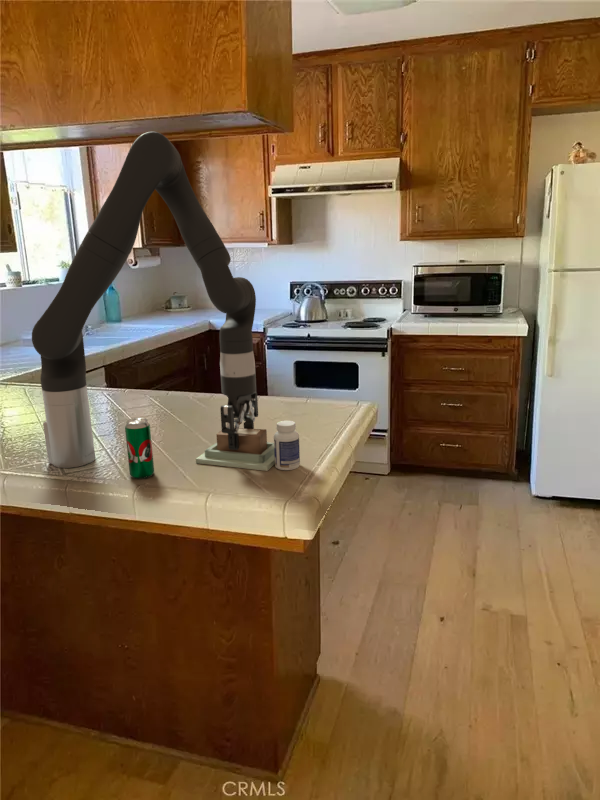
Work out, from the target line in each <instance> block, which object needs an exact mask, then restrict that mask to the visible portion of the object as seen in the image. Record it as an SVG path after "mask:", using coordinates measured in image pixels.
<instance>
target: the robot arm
mask: <svg viewBox="0 0 600 800" xmlns="http://www.w3.org/2000/svg"><path fill="white" fill-rule="evenodd" d="M186 172H187V171H186V170H185V166H184V164H183V161H182V157H181V154H180V153H179V151H178V149H177V148H176V146H174V144H173V143H172V142H171V141H170V140H169V138H168V137H166V136H165V135H164V134H162V133H160V132H158V131H148V132H147V131H146V132H145V133H142V134H141V135H139V136H138V137H137V138H136V139H135V140H134V142H133V143H132V145H131V147H130V148H129V151H128V152H127V155H126V156H125V160H124V162H123V164H122V166H121V169H120V172H119V174H118V176H117V178H116V181H115V183H114V185H113V188H111V191H110V193H109V194H108V196H107V197H106V199H105V202H104V203H103V204H102V205H101V208H100V210H99V212H98V213H97V216H96V217H95V219H93V220H94V221H93V222H92V224H91V226H90V227H89V229H88V231H87V232H86V234H85V236H84V237H83V239H82V241H81V242H80V245H79V246H78V249H77V251H76V253H75V255H74V257H73V259H72V261H71V264H70V265H69V267H68V271H67V273H66V274H65V277H64V279H63V282H62V284H61V285H60V288H59V290H58V292H57V293H56V295H55V297H54V298H53V300H52V301H51V302H50V304H49V305H48V307H47V308H46V310H45V311H44V312H43V314H42V315H41V317H40V318H39V319H38V320H37V322H36V323H35V324H34V326H33V327H32V331H31V342H32V346H33V348H34V349H35V351H36V352H37V353H38V355H39V356H40V363H41V370H40V385H41V393H42V400H43V401H42V402H43V405H44V406H43V407H44V408H43V409H44V414H45V420H46V421H44V422H43V424H42V425H43V433H44V441H45V447H46V454H47V462H48V464H51V465H52V466H53V467H57V468H62V469H64V468H65V469H67V468H68V469H69V468H77V467H82V466H85V465H88V464H91V463H92V462H94V460H96V452H95V444H94V435H93V427H92V426H93V425H92V418H91V411H90V409H91V408H90V401H89V395H88V386H87V365H86V364H87V362H86V355H85V354H86V353H85V344H84V343H85V342H84V337H83V328H84V327H85V324H86V322H87V320H88V317H90V316H89V315H90V314H91V312H92V311H93V309H94V307H95V306H96V304H97V302H99V300H100V299H101V298H102V296H103V295H104V293H106V291H107V290H108V289H109V288H110V286H111V285H112V284H113V282H114V280H115V279H116V278H117V276H118V274H119V273H120V272H121V270H122V268H123V267H124V265H125V264H126V261H127V260H128V259H129V257H130V256H129V255H130V254H131V253H132V250H133V249H134V246H135V243H136V241H137V236H138V232H139V228H140V224H141V220H142V219H141V218H142V215H143V212H144V209H145V208H146V206H147V203H148V201H149V199H150V197H151V196H152V194H154V191H156V192H157V193H158V195H159V196H160V197H161V198H162V200H163V201H164V203H165V204H166V205H167V207H168V209H169V211H170V212H171V214H172V216H173V219H174V220H175V223H176V225H177V228H178V230H179V233H180V235H181V237H182V240H183V242H184V244H185V246H186V248H187V250H188V252H189V254H190V255H191V258H192V259H193V260H194V262H195V265H196V266H197V267H198V268H199V271H200V273H201V277H202V278H201V279H202V281H203V284H204V287H205V290H206V293H207V296H208V298H209V300H210V301H211V303H212V305H213V306H214V307H215V309H217V311H220V312H221V313H223V314H225V321H224V323H223V324H222V325H221V326H220V328H219V348H220V349H219V351H220V352H219V354H220V357H219V367H220V368H219V369H220V371H219V372H220V386H221V387H220V388H221V394H222V395H224V396H226V397H227V398H228V399H227V405H220V409H219V410H220V422H221V427H220V428H221V430H222V433H227V434H228V445H229V449H230V450H238V449H239V435H238V430H239V428H240V425H242V424H243V428H245V429H255V425H254V424H255V422H256V418H258V417H259V403H258V392H257V378H256V377H257V376H256V363H255V362H256V361H255V354H254V343H253V342H254V341H253V340H254V339H253V326H254V320H255V313H256V306H257V304H256V303H257V301H256V300H257V297H256V295H257V294H256V291H255V288H254V286H253V284H252V282H250V280H248V279H247V278H246V277H240V276H237V277H234V276H233V273H232V272H231V269H230V267H229V265H230V263H231V255H230V253H229V250H228V249H227V247H226V246H225V244H224V242H223V240H222V239H221V237H220V234H219V232H218V231H217V230H216V228H215V227H214V225H213V223H212V222H211V220H210V219H209V217H208V214H206V211H205V210H204V208H203V207H202V205H201V203H200V201H199V199H198V198H197V196H196V194H195V192H194V190H193V187H192V185H191V183H190V180H189V177H188V176H187V173H186ZM243 421H244V422H243Z"/></svg>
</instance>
